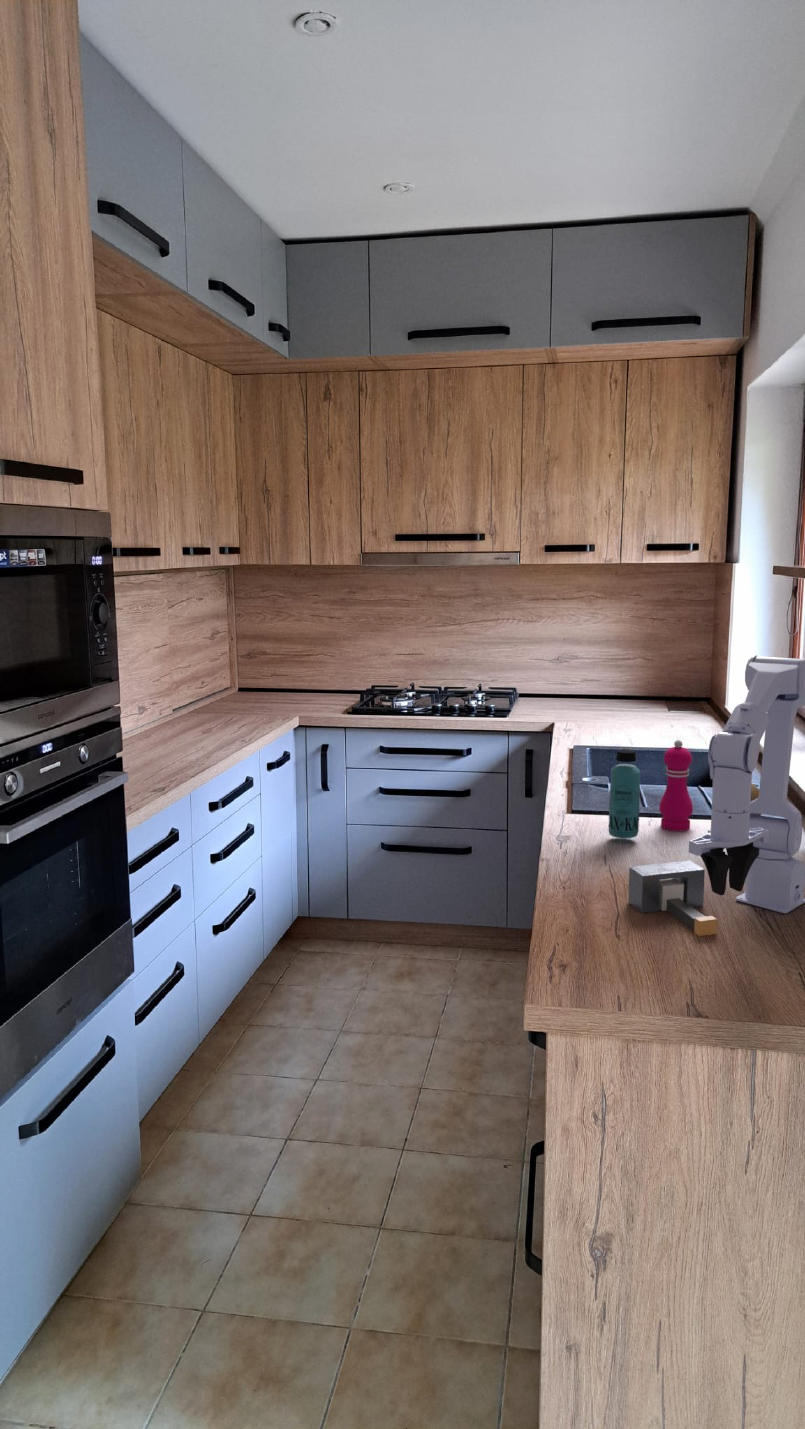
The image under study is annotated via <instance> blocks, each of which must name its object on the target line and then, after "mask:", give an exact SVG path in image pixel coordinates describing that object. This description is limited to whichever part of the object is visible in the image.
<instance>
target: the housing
mask: <svg viewBox="0 0 805 1429" xmlns="http://www.w3.org/2000/svg"><path fill="white" fill-rule="evenodd" d="M705 870H706V868H703V867H702V866H699V865H698V864H697V863H695V862H694V861H692V860H690V859H689V860H682V861H670V862H664V863H663V862H662V863H661V862H660V863H651V864H644V865H643V864H642V865H633V866H629V870H628V904H629V905H630V906H632V907H633V908H634V909H636V910H637V911H638V912H640V914H644V913H646V912H647V913H653V912H659V910H660V909H659V881H660V880H661V879H670V878H675V879H677V880H678V881H680V882H681V883H683V884H684V893H683V901H684V902H685V903H687V904H688V905H690V906H691V907H693V908H696V907H704V899H705V898H704V896H705V895H704V894H705V872H706V871H705Z"/></svg>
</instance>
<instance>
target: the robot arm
mask: <svg viewBox="0 0 805 1429" xmlns="http://www.w3.org/2000/svg"><path fill="white" fill-rule="evenodd" d="M744 680H745V682H744V683H745V687H746V688H747V690H748V692H747V695H746V697H745V700H744V702H742V703H739V704H738V705H736V706H735V707H734V709H733V711H732V713H731V714H730V716H729V718H728V719H727V721H726V723H725V726H724V728H723V729H722V731H719V732H717V734H713V735H712V736H711V738H710V740H709V746H708V752H707V758H708V759H707V760H708V765H709V776H710V777H709V778H710V779H711V780H712V790H711V792H712V793H711V795H712V797H711V816H710V820H711V821H710V828H709V829H708V830H707V833H705V834H704V835H702V836H699V837H697V838H694V839H691V840H688V853H689V854H692V855H693V856H696V857H698V856H700V858H701V859H702V862H703V864H704V866H705V870H706V872H707V874H708V878H709V883H710V888H711V892H712V893H713V894H716V895H719V896H724V895H725V893H726V889H727V882H728V883H729V888H730V889H732V890H734V891H736V892H743V889H744V886H745V890H744V891H745V892H743V893H741V894H739V895H738V896H736V897H735V901H737V902H742V903H745V904H748V905H752V906H756V907H759V908H763V909H766V910H769V911H770V910H771V911H774V912H777V913H781V914H789V912H791V911H793V910H794V909H796V908H797V907H800V906H801V905H802V904H804V903H805V863H804V862H803V861H802V860H800V859H797V858H796V857H794V856H796V854H797V853H799V851H800V848H801V844H802V841H803V840H802V839H803V837H802V836H803V826H802V821H803V820H802V819H803V816H802V814H801V811H800V810H798V808H797V807H795V806H794V805H793V803H792V802H790V801H789V800H788V799H787V798H788V788H789V777H790V769H791V758H792V751H793V749H792V748H793V740H794V733H795V732H794V730H795V723H796V722H795V720H796V716H797V712H798V709H799V708H801V707H804V706H805V657H804V658H790V657H777V656H776V657H772V656H758V655H755V654H753V655H752V656H750V658H749V659H747V663H746V665H745V672H744ZM763 736H764V740H763V750H762V759H761V769H760V779H759V787H758V789H759V797H758V798H757V799H755V800H753V801H752V802H751V783H752V784H753V781H752V780H753V779H752V778H753V772H754V771H755V769H756V766H757V764H758V760H759V754H760V752H761V751H760V750H761V740H762V738H763ZM756 813H758V814H761V815H754V814H756ZM724 849H725V850H726V851H724ZM727 878H728V881H727Z"/></svg>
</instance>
